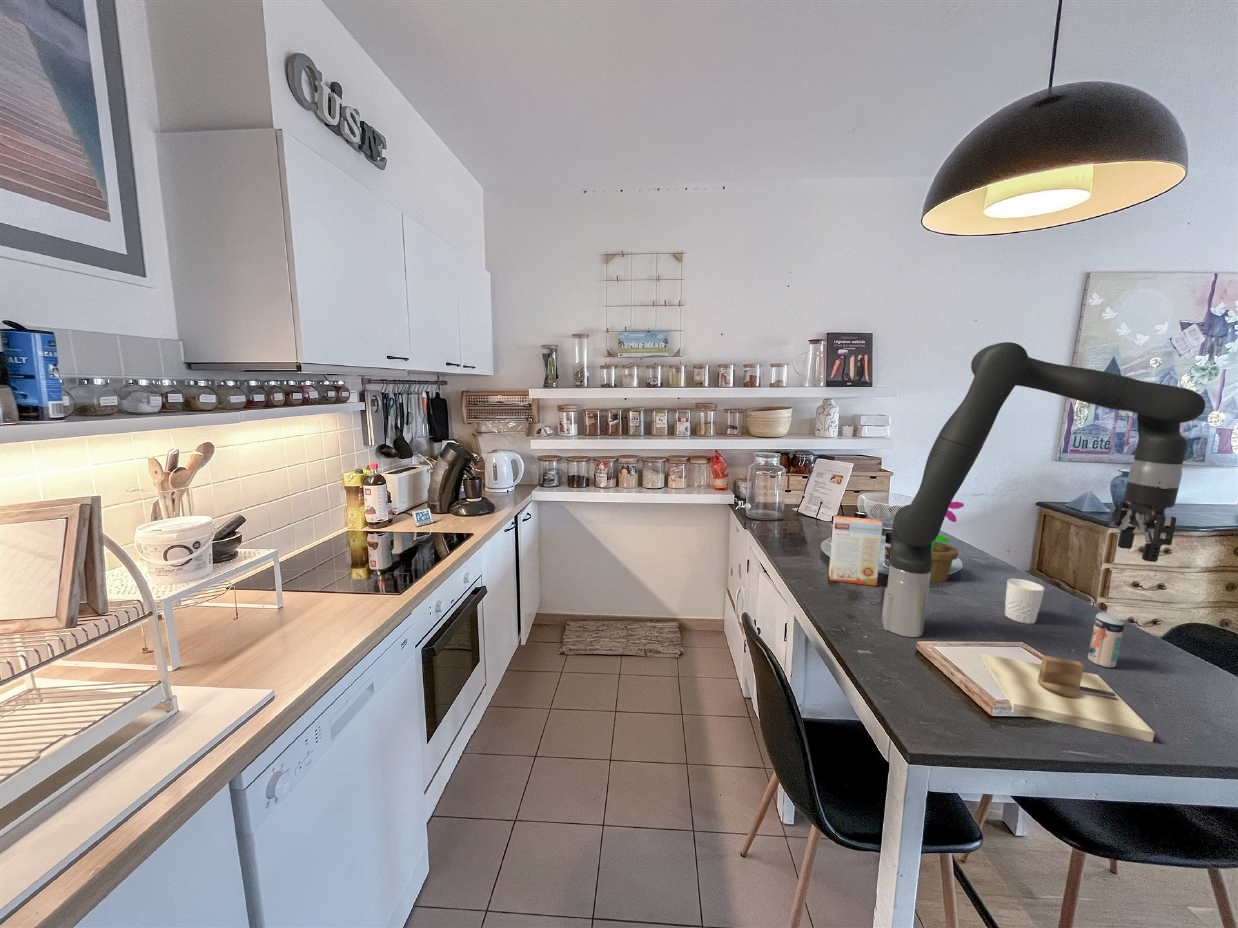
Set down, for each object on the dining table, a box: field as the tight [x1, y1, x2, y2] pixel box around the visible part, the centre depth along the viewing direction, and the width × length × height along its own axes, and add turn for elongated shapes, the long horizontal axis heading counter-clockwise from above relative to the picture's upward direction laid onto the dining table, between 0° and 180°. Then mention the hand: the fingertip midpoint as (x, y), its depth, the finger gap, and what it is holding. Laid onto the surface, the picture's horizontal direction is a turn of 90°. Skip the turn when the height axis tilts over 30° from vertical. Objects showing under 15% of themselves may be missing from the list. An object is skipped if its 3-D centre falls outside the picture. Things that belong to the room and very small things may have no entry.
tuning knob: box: [1038, 655, 1117, 697], centre depth 99 cm, size 12×6×6 cm, turn 69°
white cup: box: [1004, 578, 1045, 625], centre depth 134 cm, size 8×8×10 cm
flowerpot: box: [930, 501, 965, 583], centre depth 161 cm, size 14×14×30 cm
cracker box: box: [828, 515, 884, 587], centre depth 157 cm, size 14×6×21 cm, turn 71°
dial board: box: [981, 653, 1156, 743], centre depth 100 cm, size 21×19×2 cm
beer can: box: [1087, 611, 1126, 668], centre depth 112 cm, size 5×5×12 cm
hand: (1136, 554), depth 106 cm, fingers open, 8 cm apart
